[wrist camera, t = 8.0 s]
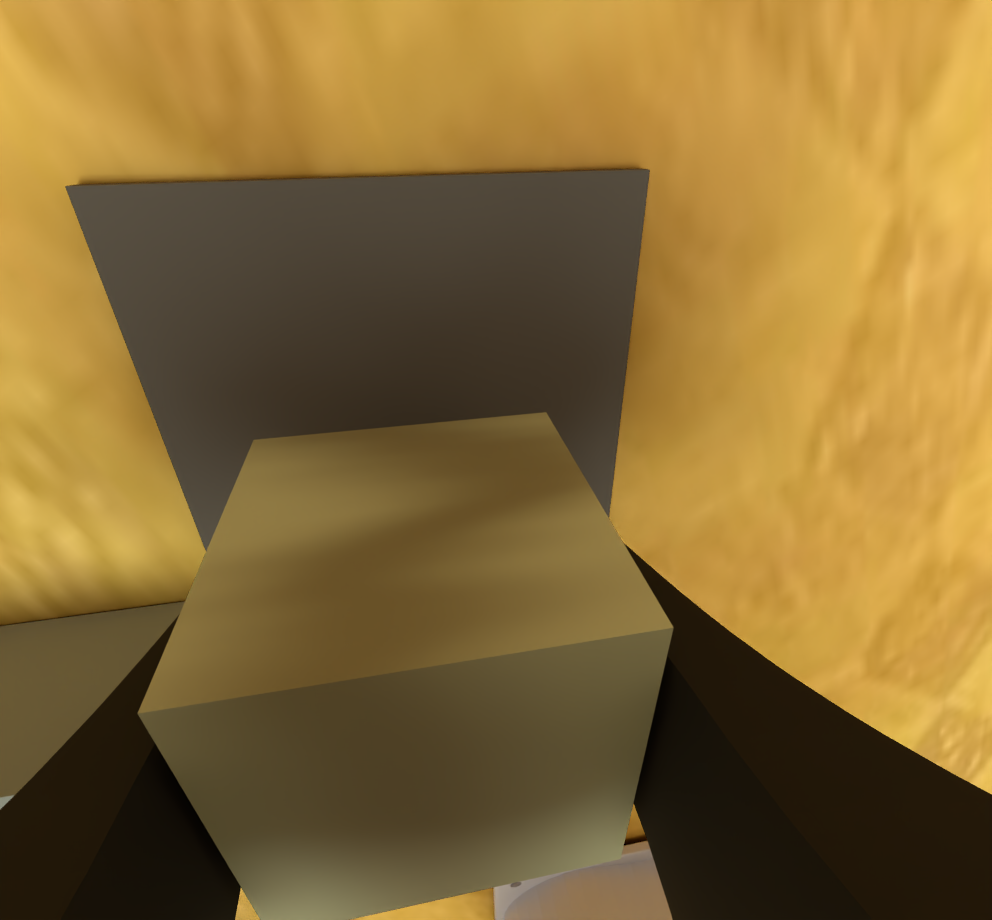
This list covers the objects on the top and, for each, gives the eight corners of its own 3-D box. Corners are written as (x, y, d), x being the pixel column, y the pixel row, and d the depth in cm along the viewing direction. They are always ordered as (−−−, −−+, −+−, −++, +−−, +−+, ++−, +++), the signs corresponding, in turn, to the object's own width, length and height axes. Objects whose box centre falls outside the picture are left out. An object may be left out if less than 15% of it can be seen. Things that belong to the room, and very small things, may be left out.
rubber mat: (640, 168, 10) (649, 169, 10) (592, 608, 17) (596, 617, 16) (77, 184, 9) (65, 186, 9) (254, 658, 15) (252, 670, 15)
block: (546, 412, 10) (673, 627, 5) (538, 609, 12) (621, 859, 8) (253, 440, 9) (137, 712, 5) (311, 643, 11) (271, 937, 7)
